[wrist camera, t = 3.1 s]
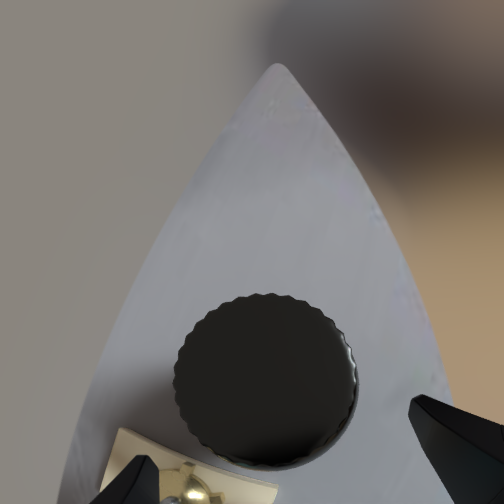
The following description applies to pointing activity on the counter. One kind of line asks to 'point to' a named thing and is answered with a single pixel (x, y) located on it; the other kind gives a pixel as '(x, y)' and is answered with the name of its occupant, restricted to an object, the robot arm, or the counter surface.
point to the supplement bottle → (266, 382)
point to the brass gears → (186, 487)
